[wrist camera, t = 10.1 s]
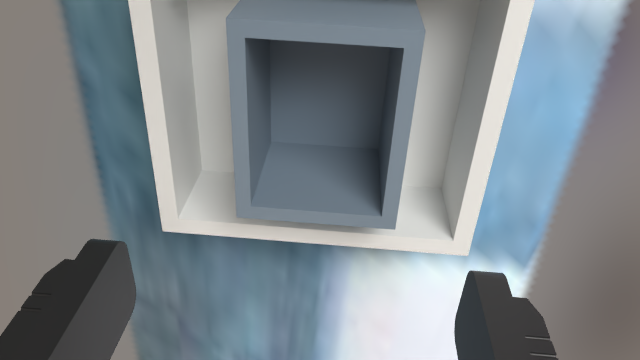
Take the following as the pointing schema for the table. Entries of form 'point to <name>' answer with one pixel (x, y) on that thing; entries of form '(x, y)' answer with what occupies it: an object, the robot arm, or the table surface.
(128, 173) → the table surface
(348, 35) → the slate crate
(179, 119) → the white crate
